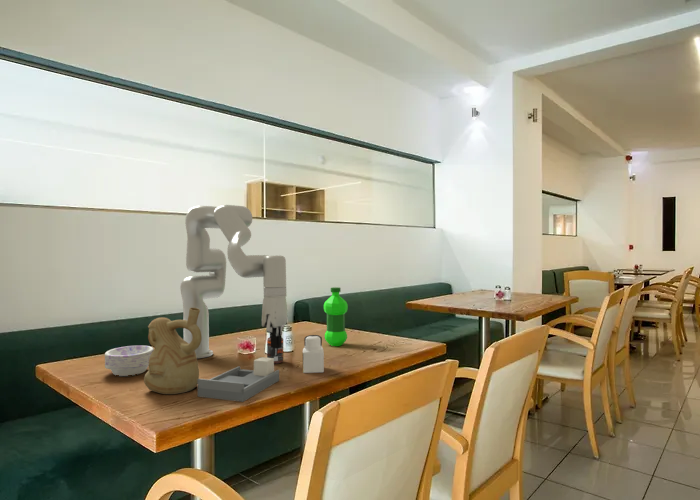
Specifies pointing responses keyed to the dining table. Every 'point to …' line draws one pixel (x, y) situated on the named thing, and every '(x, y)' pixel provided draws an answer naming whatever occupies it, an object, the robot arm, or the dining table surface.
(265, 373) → the cream block
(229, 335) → the dining table surface
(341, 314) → the plastic bottle
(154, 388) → the ceramic vessel
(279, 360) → the supplement bottle
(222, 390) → the tray
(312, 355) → the medicine bottle
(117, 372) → the paper bowls
